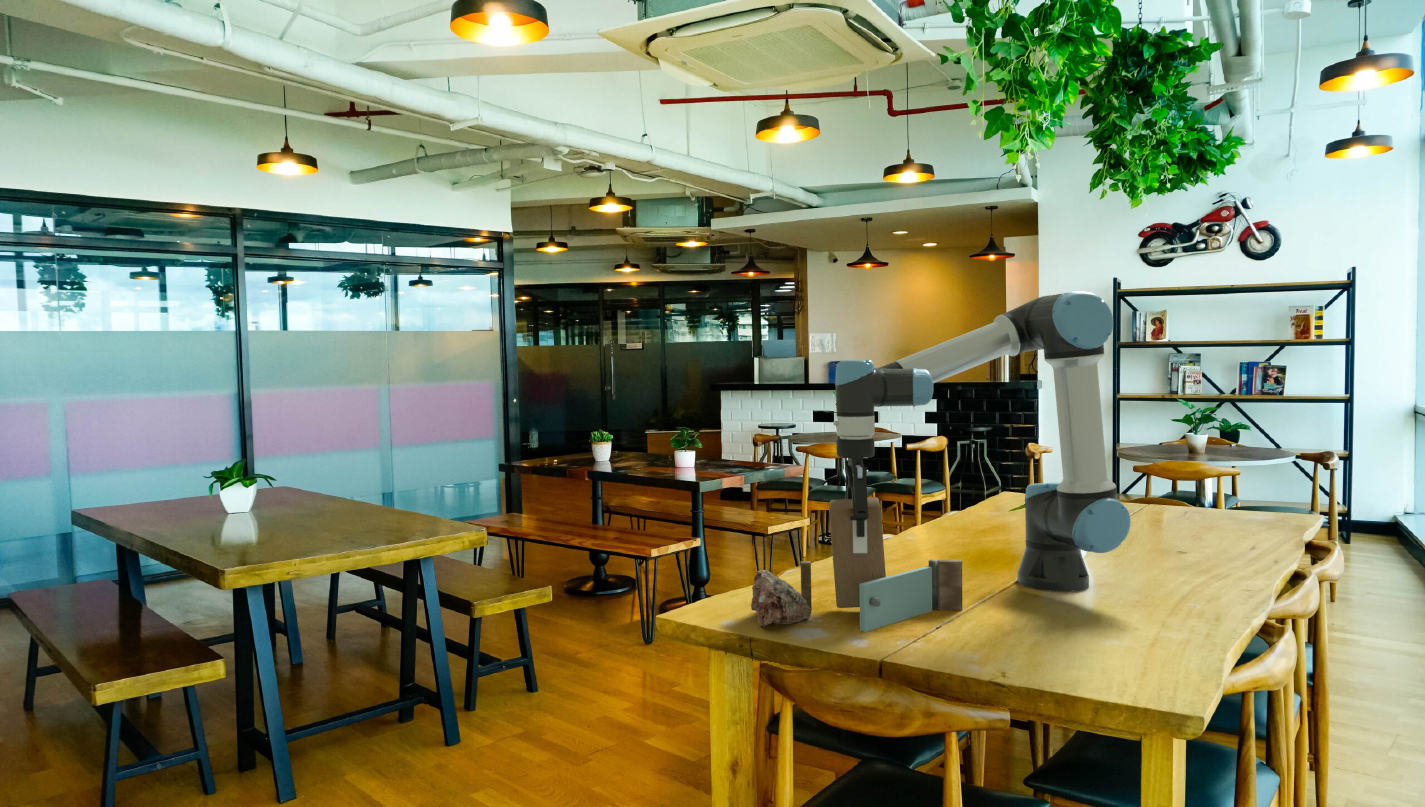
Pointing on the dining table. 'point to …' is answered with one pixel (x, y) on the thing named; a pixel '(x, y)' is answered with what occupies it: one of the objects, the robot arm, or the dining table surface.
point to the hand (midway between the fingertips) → (856, 546)
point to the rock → (777, 601)
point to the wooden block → (855, 565)
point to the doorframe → (943, 584)
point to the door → (895, 598)
